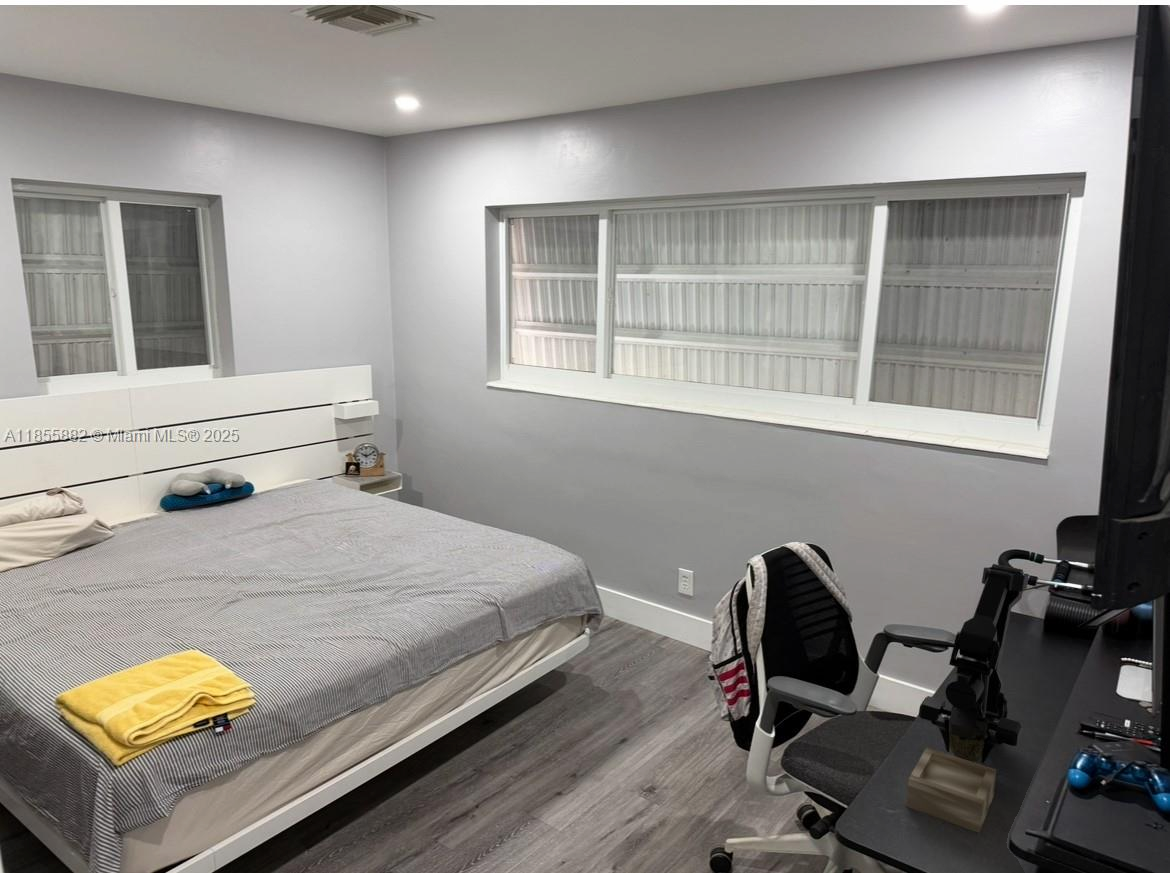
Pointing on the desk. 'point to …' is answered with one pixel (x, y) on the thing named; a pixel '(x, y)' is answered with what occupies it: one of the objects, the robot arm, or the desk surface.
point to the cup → (967, 747)
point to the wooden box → (951, 789)
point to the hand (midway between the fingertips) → (965, 756)
